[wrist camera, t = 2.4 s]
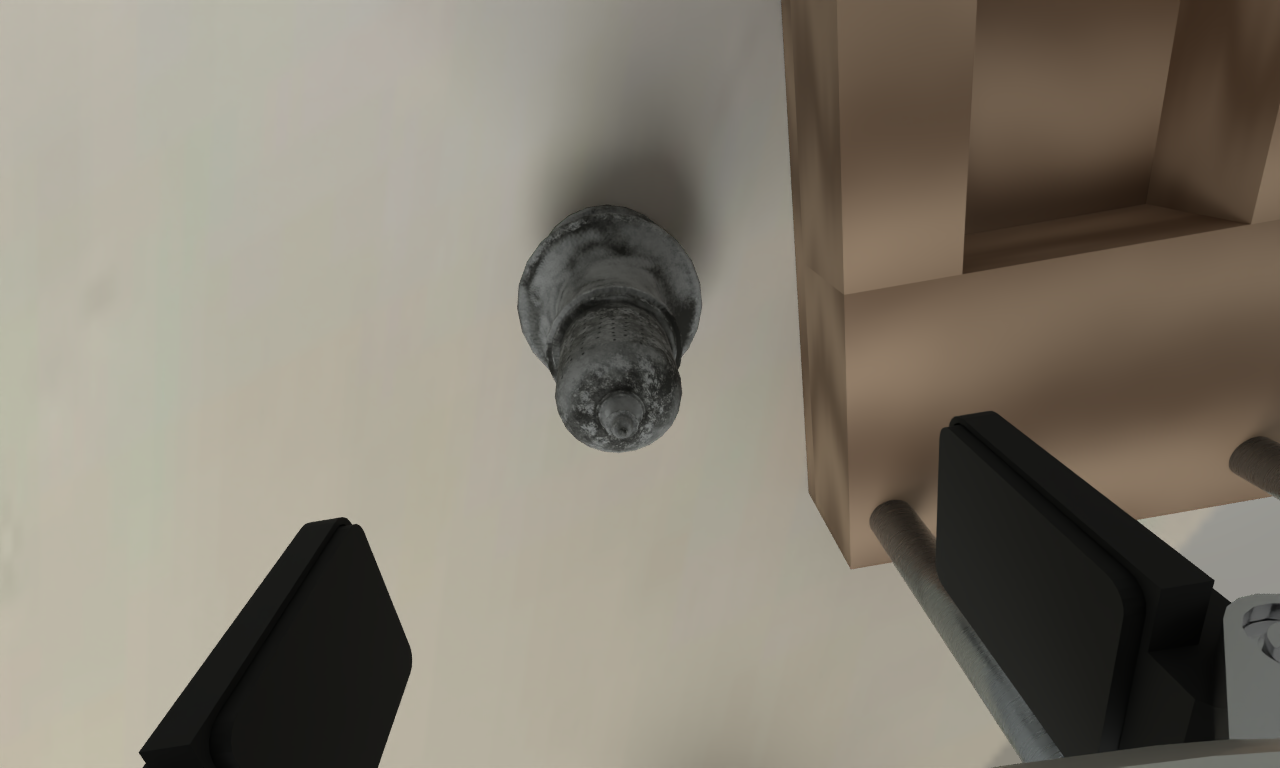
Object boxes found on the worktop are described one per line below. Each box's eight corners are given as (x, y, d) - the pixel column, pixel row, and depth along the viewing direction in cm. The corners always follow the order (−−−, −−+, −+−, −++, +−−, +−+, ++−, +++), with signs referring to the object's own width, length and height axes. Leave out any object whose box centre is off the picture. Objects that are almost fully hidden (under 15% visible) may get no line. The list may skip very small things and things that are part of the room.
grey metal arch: (848, 478, 22) (1160, 938, 10) (1308, 398, 22) (2173, 763, 10) (850, 569, 24) (1119, 1057, 12) (1278, 495, 24) (1988, 906, 12)
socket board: (769, -204, 18) (829, -304, 14) (1323, -300, 18) (1566, -432, 14) (808, 492, 28) (850, 569, 24) (1167, 430, 28) (1278, 495, 24)
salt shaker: (504, 221, 23) (424, 339, 12) (666, 176, 22) (738, 253, 11) (555, 369, 25) (528, 581, 14) (701, 330, 25) (790, 515, 14)
